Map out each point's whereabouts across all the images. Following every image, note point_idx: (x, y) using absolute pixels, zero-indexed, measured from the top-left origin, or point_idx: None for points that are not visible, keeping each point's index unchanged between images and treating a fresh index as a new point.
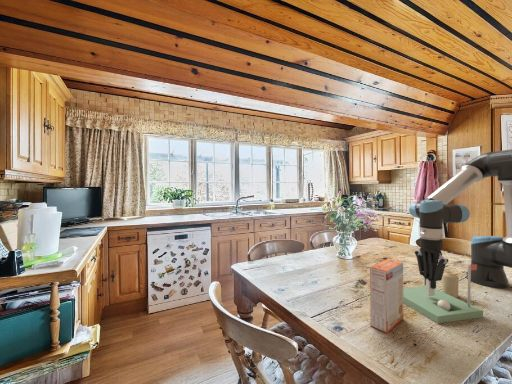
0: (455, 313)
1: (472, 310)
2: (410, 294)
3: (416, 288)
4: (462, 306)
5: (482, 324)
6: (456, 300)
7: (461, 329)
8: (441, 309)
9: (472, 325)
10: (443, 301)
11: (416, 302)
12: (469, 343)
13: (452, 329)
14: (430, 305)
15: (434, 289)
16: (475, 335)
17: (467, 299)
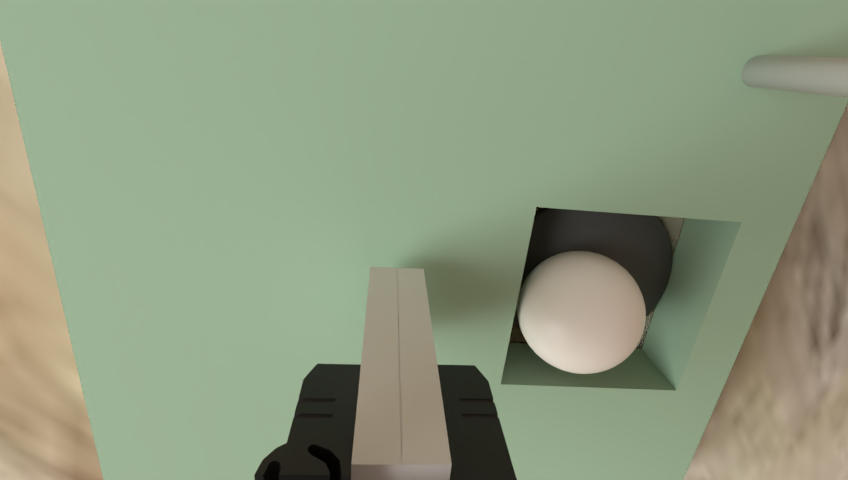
0: (726, 365)
1: (811, 129)
2: (271, 426)
3: (101, 218)
4: (705, 139)
5: (843, 168)
6: (583, 25)
7: (759, 394)
8: (622, 411)
9: (792, 269)
10: (609, 361)
11: None
12: (835, 476)
13: (723, 443)
14: (530, 437)
15: (430, 319)
16: (840, 376)
17: (834, 92)
